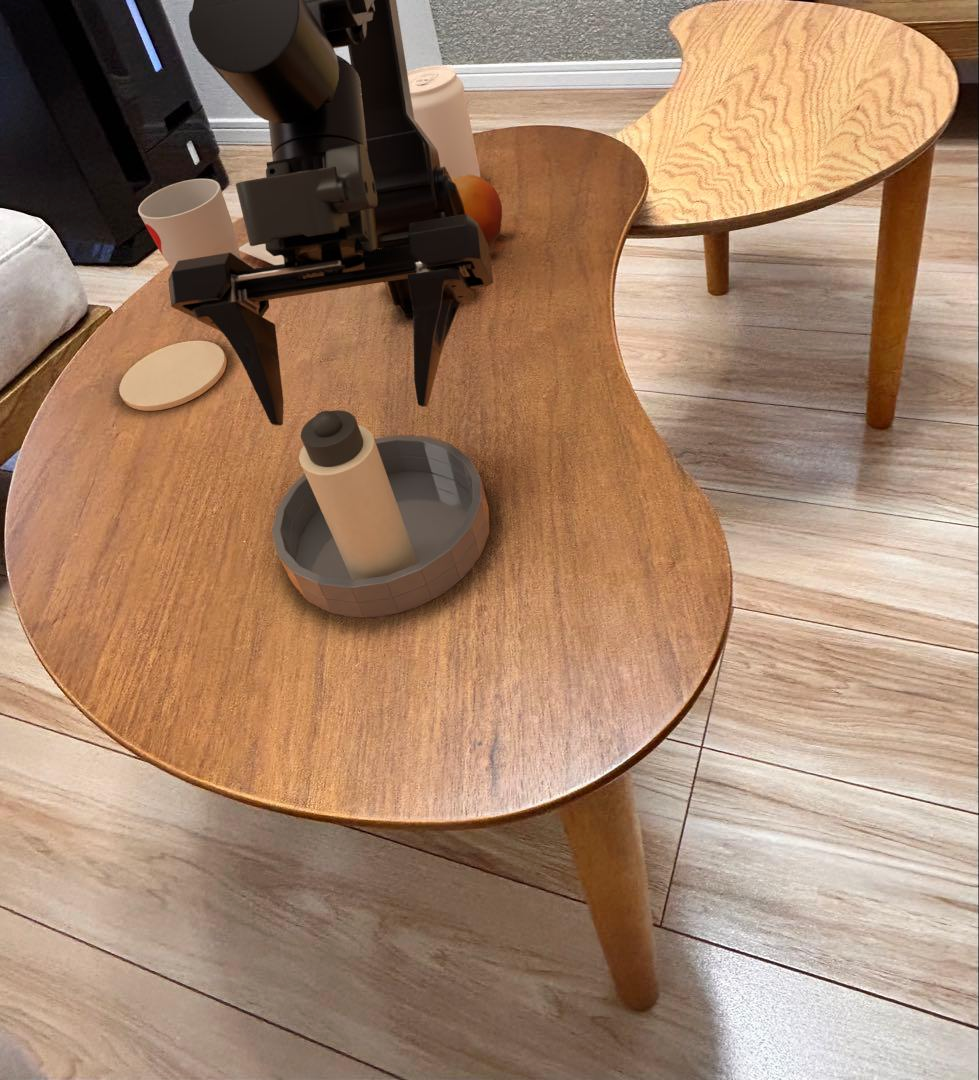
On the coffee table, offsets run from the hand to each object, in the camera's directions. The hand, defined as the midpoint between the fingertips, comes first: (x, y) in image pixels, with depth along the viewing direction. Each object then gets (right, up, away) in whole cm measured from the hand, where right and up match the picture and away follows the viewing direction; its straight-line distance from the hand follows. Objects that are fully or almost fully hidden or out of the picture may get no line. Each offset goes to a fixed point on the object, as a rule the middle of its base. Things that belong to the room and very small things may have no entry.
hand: (349, 415), depth 52 cm
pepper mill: (+2, -10, +5) cm, 11 cm away
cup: (-20, +18, +38) cm, 47 cm away
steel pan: (+2, -8, +8) cm, 11 cm away
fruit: (+6, +22, +35) cm, 42 cm away
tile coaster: (-21, +8, +28) cm, 35 cm away
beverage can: (+4, +31, +45) cm, 55 cm away
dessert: (-10, +24, +42) cm, 49 cm away
